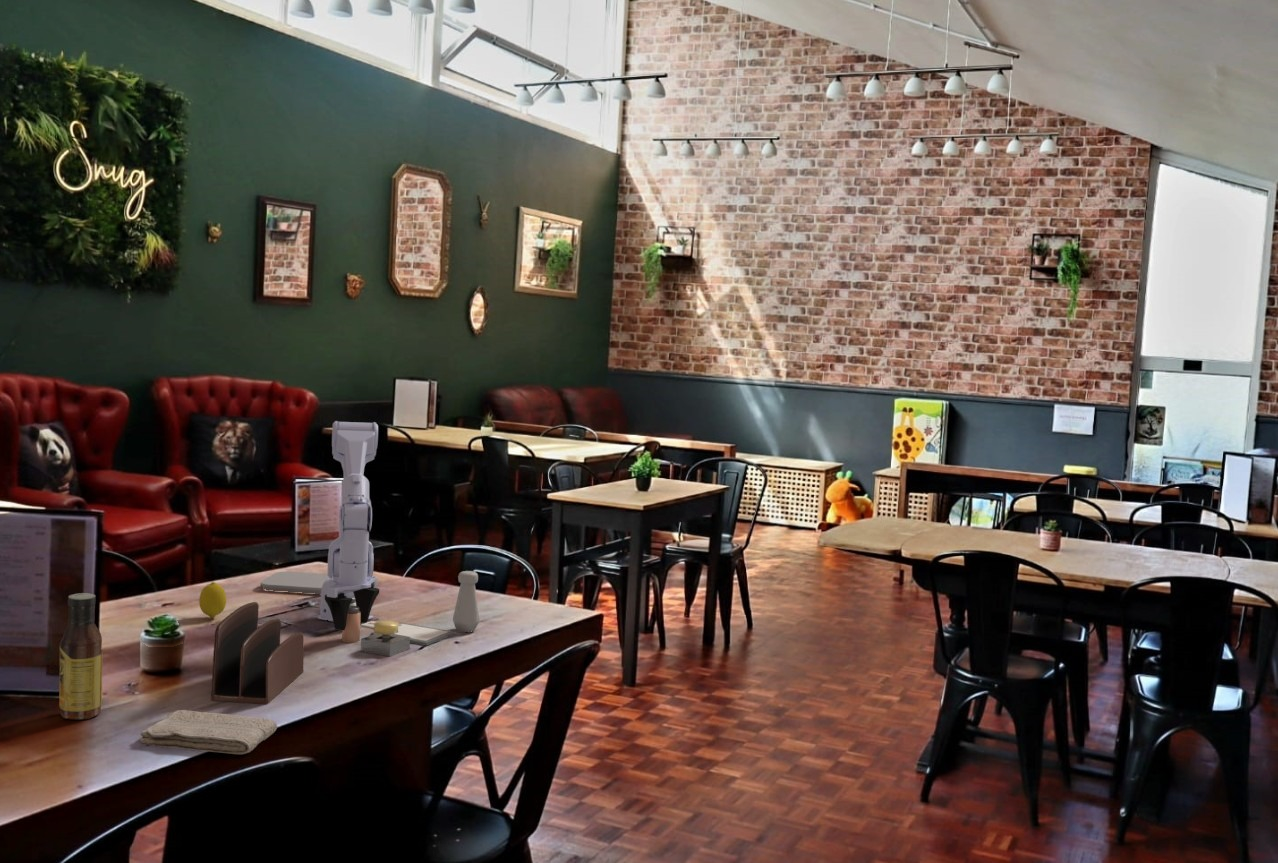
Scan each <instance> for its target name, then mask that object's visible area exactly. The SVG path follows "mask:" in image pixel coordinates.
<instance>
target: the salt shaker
mask: <svg viewBox="0 0 1278 863" xmlns="http://www.w3.org/2000/svg"><path fill="white" fill-rule="evenodd" d="M457 578H458V579H457V580H458V583H460V586H459V589H458V590H459V591H458V595H457V597H456V598H457V599H456V603H455V608H454V612H453V616H452V622H453V624H454V628H455V630H456V631H457V632H458V631H459V633H465V632H468V633H472V632H471V631H474V632H475V630H476V629H477V627H478V625H479V623H480V613H479V607H478V601H477V600H478V598H477V591H476V584H477V583H478V581H479V574H478V573H477V572H475V571H473V570H465V571H464V570H463V571H461V572H459V573H458V576H457Z"/></svg>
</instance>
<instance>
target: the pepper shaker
mask: <svg viewBox="0 0 1278 863" xmlns="http://www.w3.org/2000/svg"><path fill="white" fill-rule="evenodd" d="M360 617H361V612H360V611H359V607H358V606H349V610H348V614H347V622H346V628H345V630H342V631H341V642H342V641H343V642H342V643H346V642H347V643H349V644H353V643H358V641H359V642H361V636H360V635H361V622H360Z"/></svg>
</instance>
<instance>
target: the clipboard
mask: <svg viewBox="0 0 1278 863" xmlns="http://www.w3.org/2000/svg"><path fill="white" fill-rule="evenodd" d="M397 623H398V633H395V634H397V635H403V636H409V637H410V644H416V645H421V646H429V645H432V644H434V643H436V642H439V641H441V640H444V638H445V639H447V638H449V636H450V637H452V636H455V635H456V632H455V631H452V630H446V629H441V628H435V627H429V626H423V625H418V624H411V623H404V622H397ZM374 634H376V633H375V632H374V631H372V632H370V636H371V635H374ZM454 634H455V635H454Z"/></svg>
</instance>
